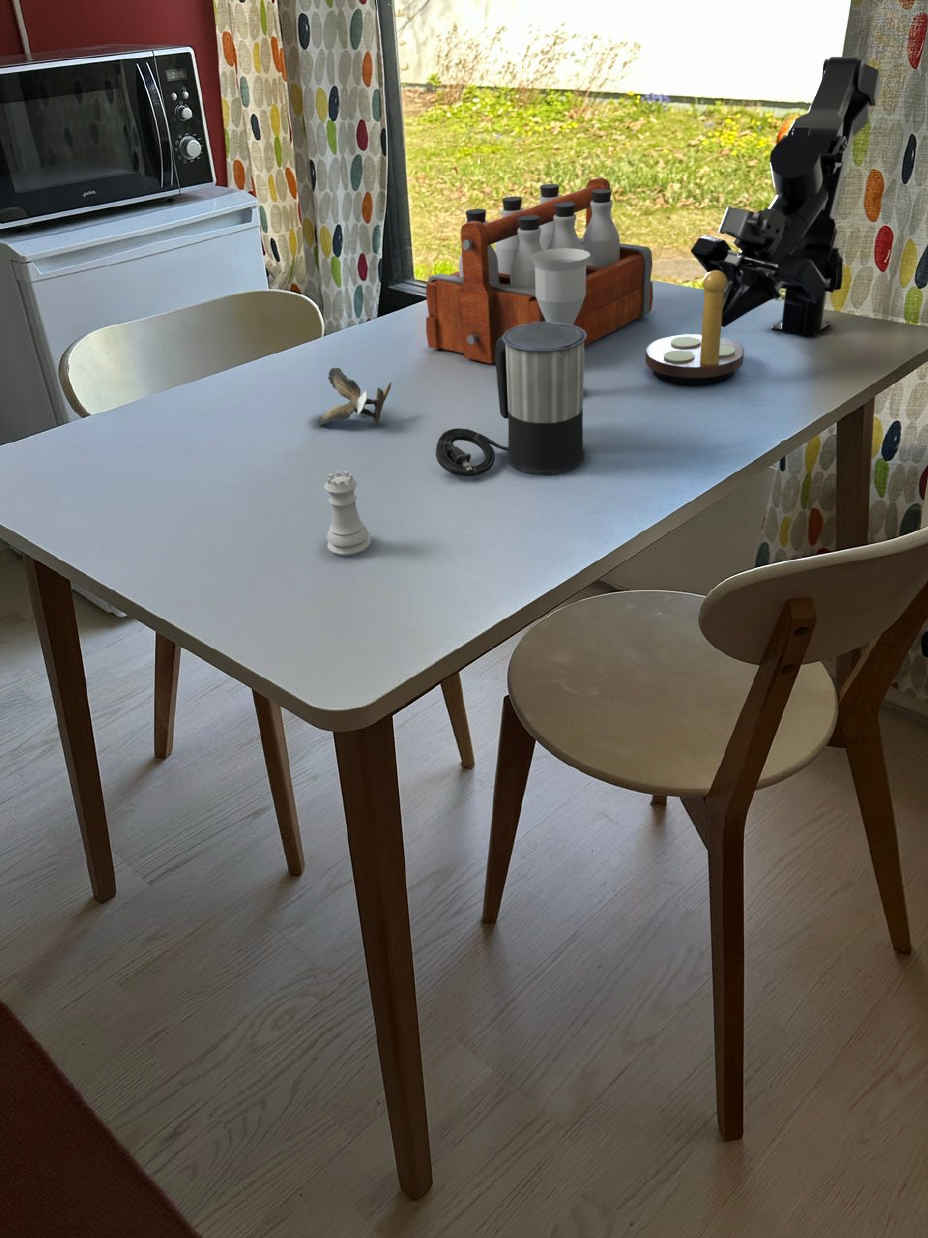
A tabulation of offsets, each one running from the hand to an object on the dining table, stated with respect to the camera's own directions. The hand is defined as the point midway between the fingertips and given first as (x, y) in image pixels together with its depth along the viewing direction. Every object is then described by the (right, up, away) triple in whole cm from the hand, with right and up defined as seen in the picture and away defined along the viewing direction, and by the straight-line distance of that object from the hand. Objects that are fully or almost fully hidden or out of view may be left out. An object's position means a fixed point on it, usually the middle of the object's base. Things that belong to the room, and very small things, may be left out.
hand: (719, 324), depth 133 cm
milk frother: (-27, -20, -13) cm, 36 cm away
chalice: (-20, -9, +4) cm, 22 cm away
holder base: (-2, -4, +8) cm, 9 cm away
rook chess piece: (-45, -31, -27) cm, 61 cm away
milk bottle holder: (-21, +6, +25) cm, 33 cm away
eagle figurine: (-47, -13, 0) cm, 49 cm away
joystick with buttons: (-2, -3, +7) cm, 8 cm away
